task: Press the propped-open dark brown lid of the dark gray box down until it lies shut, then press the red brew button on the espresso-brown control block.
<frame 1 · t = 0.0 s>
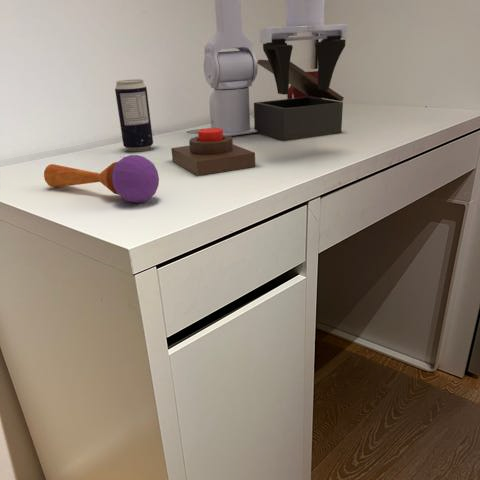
hand: (303, 91, 82), 10 cm above the table, tool pointing down, fingers open, 7 cm apart
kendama: (102, 196, 71), on the table
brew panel: (212, 163, 85), on the table
beverage can: (139, 150, 98), on the table
dark gray box: (296, 132, 106), on the table
brew button: (210, 135, 82), point 4 cm above the table, slide at 0.1 cm
mug: (304, 116, 125), on the table
coffee lid: (300, 80, 102), point 10 cm above the table, hinge at 30.0°
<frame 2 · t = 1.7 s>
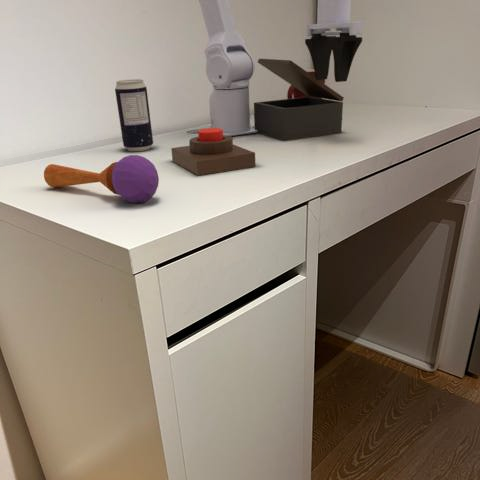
hand: (330, 80, 94), 10 cm above the table, tool pointing down, fingers open, 6 cm apart
coffee lid: (300, 79, 102), point 10 cm above the table, hinge at 30.8°, touching gripper
everything else where it was.
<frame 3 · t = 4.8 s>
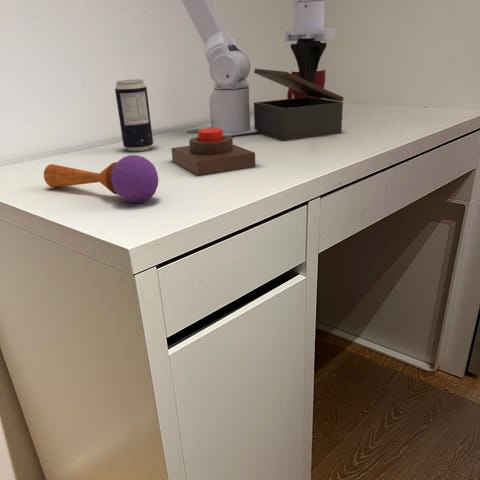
hand: (307, 82, 101), 9 cm above the table, tool pointing down, fingers closed
coffee lid: (298, 84, 102), point 9 cm above the table, hinge at 22.6°
everything else where it was.
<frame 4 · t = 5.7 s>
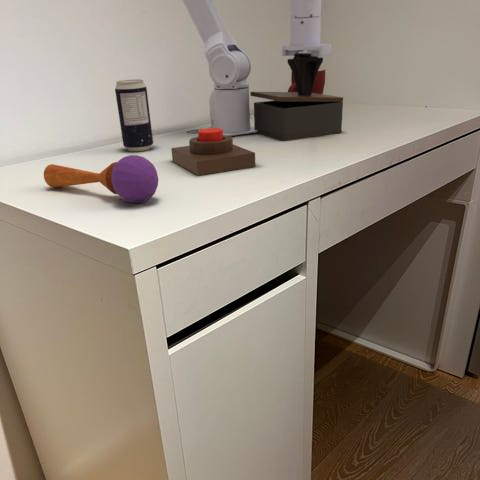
hand: (304, 96, 102), 7 cm above the table, tool pointing down, fingers closed, pressing on coffee lid
coffee lid: (295, 96, 103), point 7 cm above the table, hinge at 5.2°, touching arm, gripper
everything else where it was.
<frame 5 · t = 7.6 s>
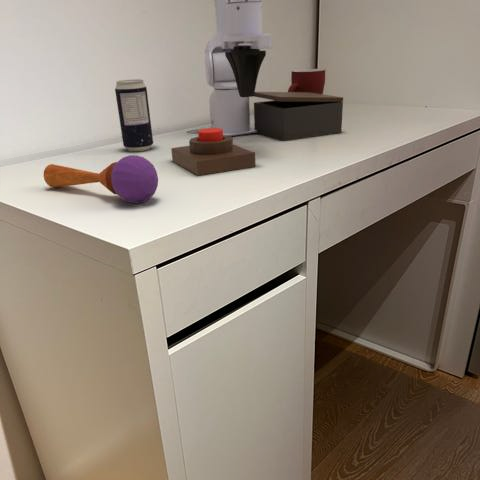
hand: (246, 96, 87), 9 cm above the table, tool pointing down, fingers closed
coffee lid: (295, 96, 103), point 7 cm above the table, hinge at 5.2°, touching arm
everything else where it was.
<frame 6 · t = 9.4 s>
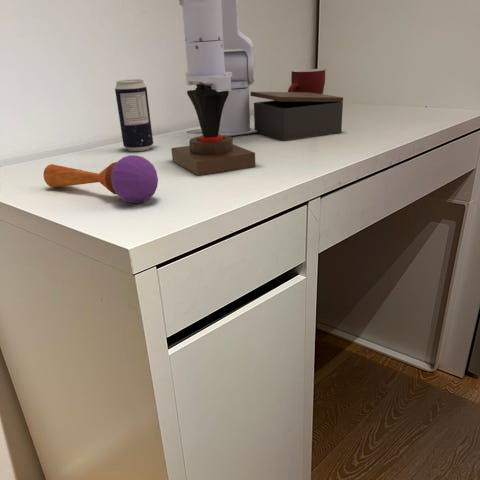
hand: (210, 136, 82), 4 cm above the table, tool pointing down, fingers closed, pressing on brew button
brew button: (211, 142, 83), point 4 cm above the table, slide at -0.9 cm, touching gripper
everything else where it was.
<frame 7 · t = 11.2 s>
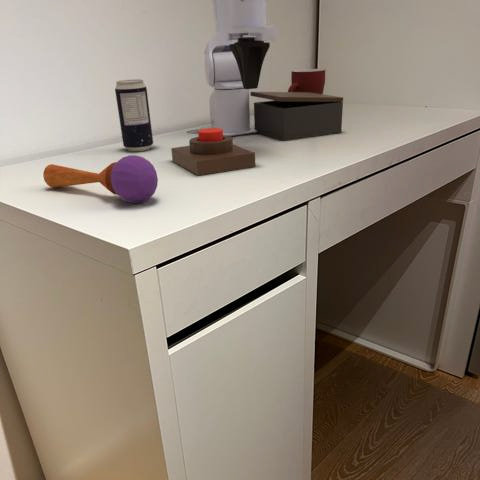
hand: (250, 88, 87), 10 cm above the table, tool pointing down, fingers closed
brew button: (210, 135, 82), point 4 cm above the table, slide at 0.1 cm
everything else where it was.
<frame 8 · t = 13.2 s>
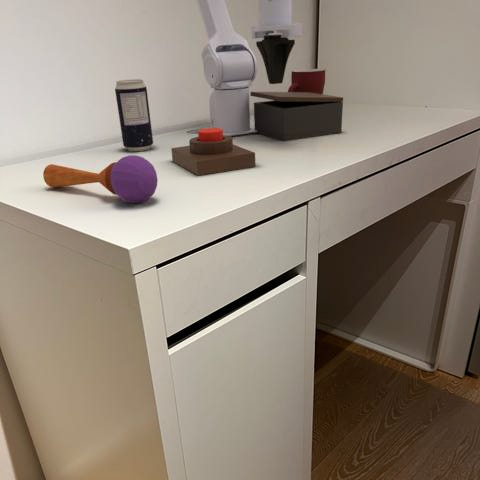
hand: (275, 83, 92), 10 cm above the table, tool pointing down, fingers closed
nothing on the table moved.
at the end: coffee lid at +5° (first picture: +30°); brew button pushed in 1.2 cm at the most during the clip, back to where it started at the end; brew button slide at 0.1 cm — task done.
